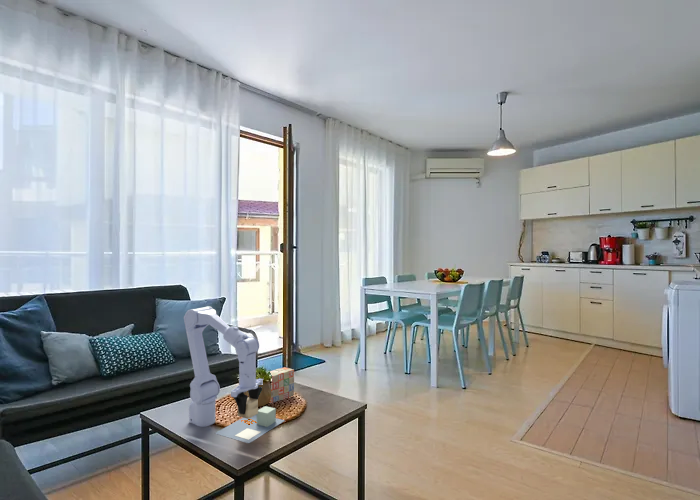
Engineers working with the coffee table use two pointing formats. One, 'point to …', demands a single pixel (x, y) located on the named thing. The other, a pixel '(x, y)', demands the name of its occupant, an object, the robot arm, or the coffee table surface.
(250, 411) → the maple block
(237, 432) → the board
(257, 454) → the coffee table surface
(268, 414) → the sage block
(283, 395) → the stack of blocks
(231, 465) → the coffee table surface
